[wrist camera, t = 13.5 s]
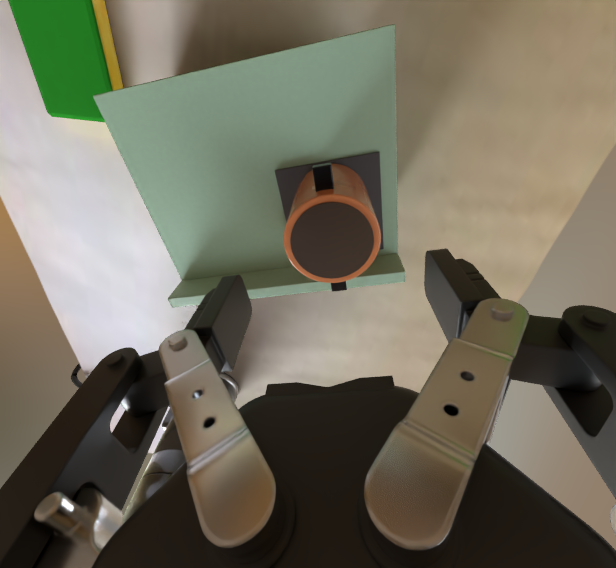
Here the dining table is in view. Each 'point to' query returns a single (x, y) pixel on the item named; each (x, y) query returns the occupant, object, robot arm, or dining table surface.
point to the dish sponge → (69, 53)
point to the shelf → (260, 157)
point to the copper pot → (332, 226)
